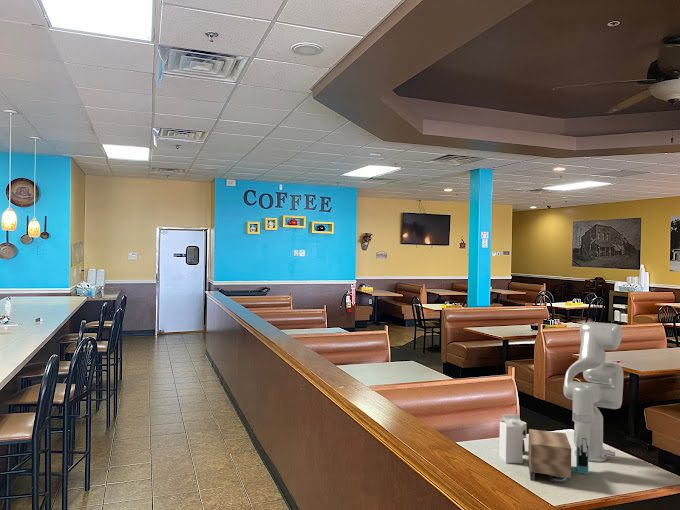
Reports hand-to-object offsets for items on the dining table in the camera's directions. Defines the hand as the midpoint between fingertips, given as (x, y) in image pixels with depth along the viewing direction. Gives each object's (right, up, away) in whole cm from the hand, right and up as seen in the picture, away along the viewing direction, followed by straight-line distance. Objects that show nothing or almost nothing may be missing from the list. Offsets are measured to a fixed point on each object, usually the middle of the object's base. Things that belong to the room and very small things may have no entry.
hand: (582, 464), depth 206 cm
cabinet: (-15, -3, -4) cm, 16 cm away
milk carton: (-25, -3, +11) cm, 27 cm away
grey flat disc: (-13, -3, -8) cm, 16 cm away
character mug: (-18, -4, +22) cm, 29 cm away
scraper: (-7, -3, +2) cm, 8 cm away
